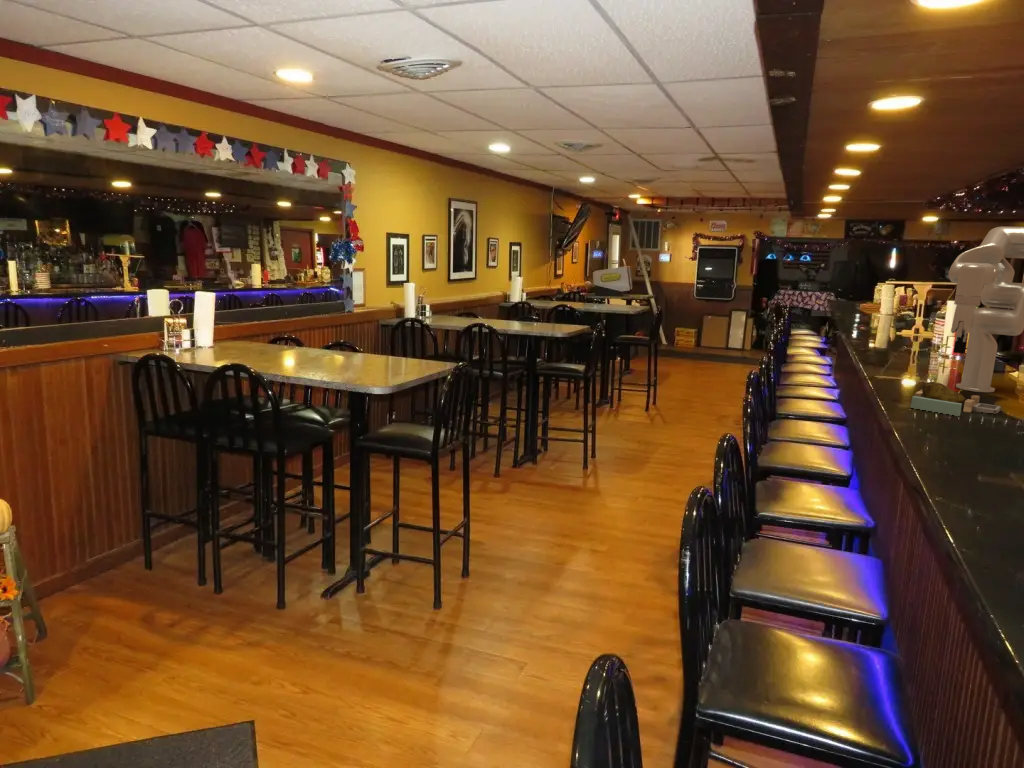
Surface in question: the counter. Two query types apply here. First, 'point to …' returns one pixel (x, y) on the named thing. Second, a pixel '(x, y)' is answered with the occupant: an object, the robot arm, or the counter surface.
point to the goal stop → (936, 405)
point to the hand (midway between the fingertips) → (959, 352)
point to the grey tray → (986, 408)
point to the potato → (941, 393)
